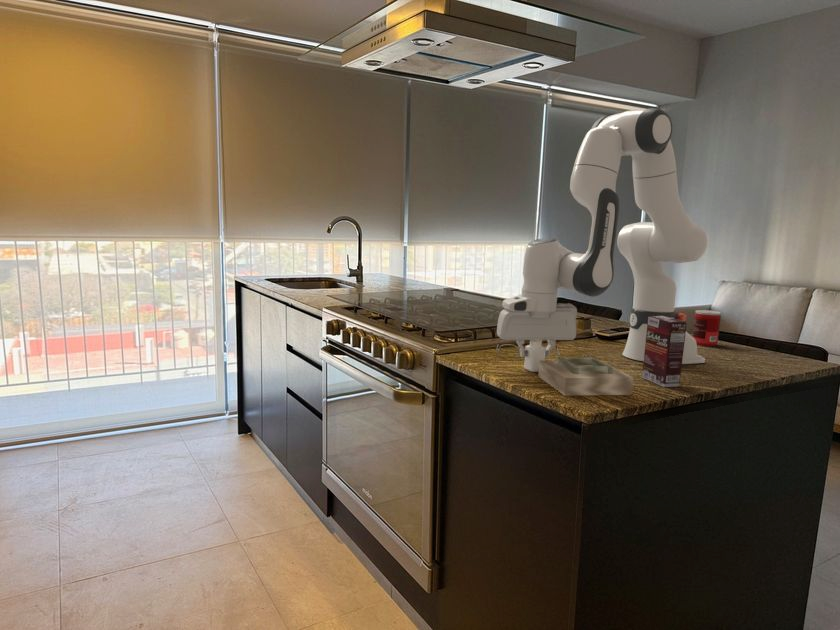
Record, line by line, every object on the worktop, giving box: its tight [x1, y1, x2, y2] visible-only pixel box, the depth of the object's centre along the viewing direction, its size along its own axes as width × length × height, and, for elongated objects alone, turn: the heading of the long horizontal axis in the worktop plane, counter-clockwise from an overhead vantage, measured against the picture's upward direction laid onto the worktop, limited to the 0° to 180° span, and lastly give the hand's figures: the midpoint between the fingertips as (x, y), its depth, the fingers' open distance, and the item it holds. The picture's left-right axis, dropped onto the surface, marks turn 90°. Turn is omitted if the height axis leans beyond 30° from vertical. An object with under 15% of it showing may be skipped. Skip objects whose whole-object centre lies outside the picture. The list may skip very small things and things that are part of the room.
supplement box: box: [641, 316, 687, 388], centre depth 141 cm, size 9×5×16 cm, turn 16°
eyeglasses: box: [495, 343, 561, 361], centre depth 171 cm, size 18×19×4 cm
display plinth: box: [538, 357, 634, 397], centre depth 136 cm, size 16×16×6 cm
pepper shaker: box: [523, 340, 546, 373], centre depth 148 cm, size 4×4×10 cm
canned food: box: [692, 309, 722, 347], centre depth 193 cm, size 8×8×11 cm
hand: (534, 356), depth 149 cm, fingers open, 5 cm apart
